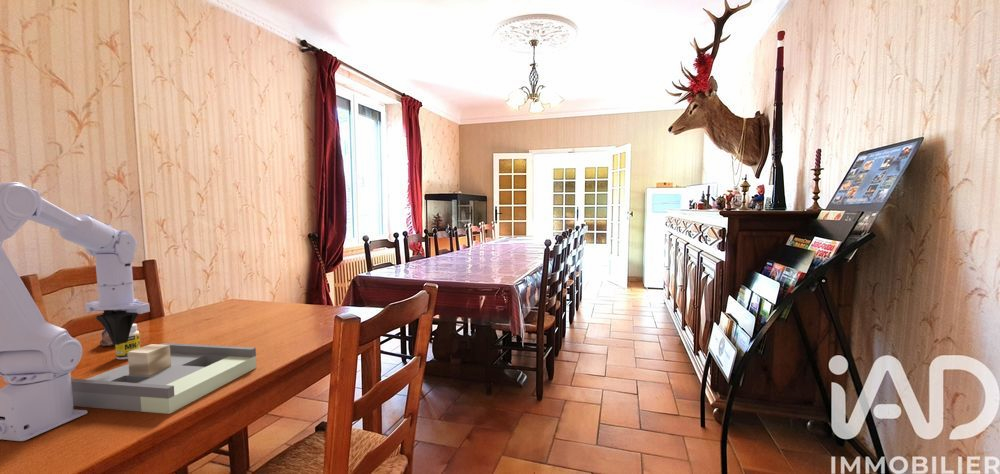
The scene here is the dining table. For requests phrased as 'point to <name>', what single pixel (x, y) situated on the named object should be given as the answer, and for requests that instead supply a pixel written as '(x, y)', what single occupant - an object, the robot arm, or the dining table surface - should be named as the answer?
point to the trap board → (166, 380)
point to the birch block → (149, 359)
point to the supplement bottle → (128, 344)
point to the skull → (105, 339)
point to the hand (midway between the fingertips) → (120, 343)
